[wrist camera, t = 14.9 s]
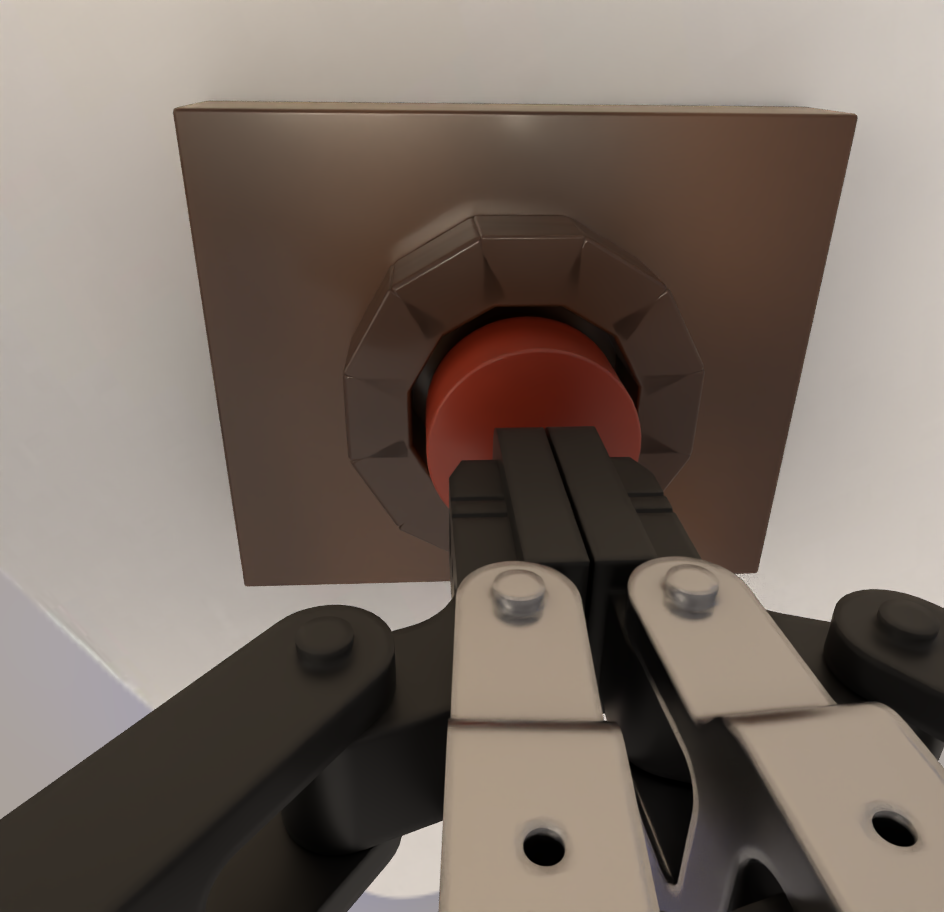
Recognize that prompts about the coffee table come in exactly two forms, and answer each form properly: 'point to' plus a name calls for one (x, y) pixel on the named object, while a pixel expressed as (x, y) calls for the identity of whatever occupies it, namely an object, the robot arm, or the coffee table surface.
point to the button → (522, 393)
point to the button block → (497, 300)
